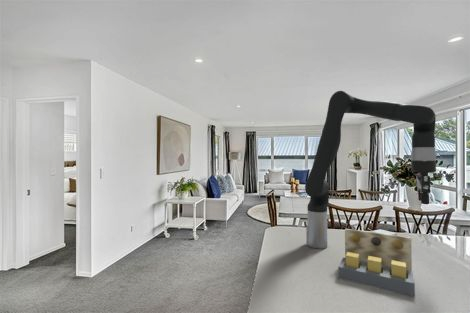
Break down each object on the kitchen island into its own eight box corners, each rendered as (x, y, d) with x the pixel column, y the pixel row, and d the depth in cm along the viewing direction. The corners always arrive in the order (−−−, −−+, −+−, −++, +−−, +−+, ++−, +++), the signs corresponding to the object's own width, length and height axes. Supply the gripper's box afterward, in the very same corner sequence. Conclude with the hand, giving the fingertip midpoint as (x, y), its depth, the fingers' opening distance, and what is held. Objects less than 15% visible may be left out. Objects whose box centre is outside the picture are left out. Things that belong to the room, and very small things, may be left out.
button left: (345, 269, 89) (345, 255, 89) (347, 265, 92) (347, 251, 92) (358, 271, 87) (357, 257, 87) (359, 267, 90) (359, 254, 90)
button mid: (367, 274, 85) (367, 259, 85) (368, 269, 88) (368, 255, 88) (381, 277, 83) (380, 262, 83) (381, 272, 86) (381, 258, 86)
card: (345, 263, 99) (344, 229, 100) (346, 260, 103) (346, 226, 103) (411, 277, 87) (411, 238, 88) (411, 273, 91) (410, 235, 91)
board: (338, 278, 87) (338, 266, 87) (343, 267, 96) (343, 257, 96) (414, 296, 75) (414, 283, 75) (412, 282, 84) (412, 271, 84)
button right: (391, 279, 81) (391, 264, 81) (391, 274, 85) (391, 260, 85) (406, 282, 79) (406, 267, 79) (405, 277, 82) (405, 262, 82)
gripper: (409, 159, 101) (409, 198, 101) (412, 159, 89) (413, 204, 89) (432, 159, 97) (432, 200, 97) (439, 159, 85) (439, 206, 85)
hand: (423, 202), depth 93 cm, fingers open, 8 cm apart
